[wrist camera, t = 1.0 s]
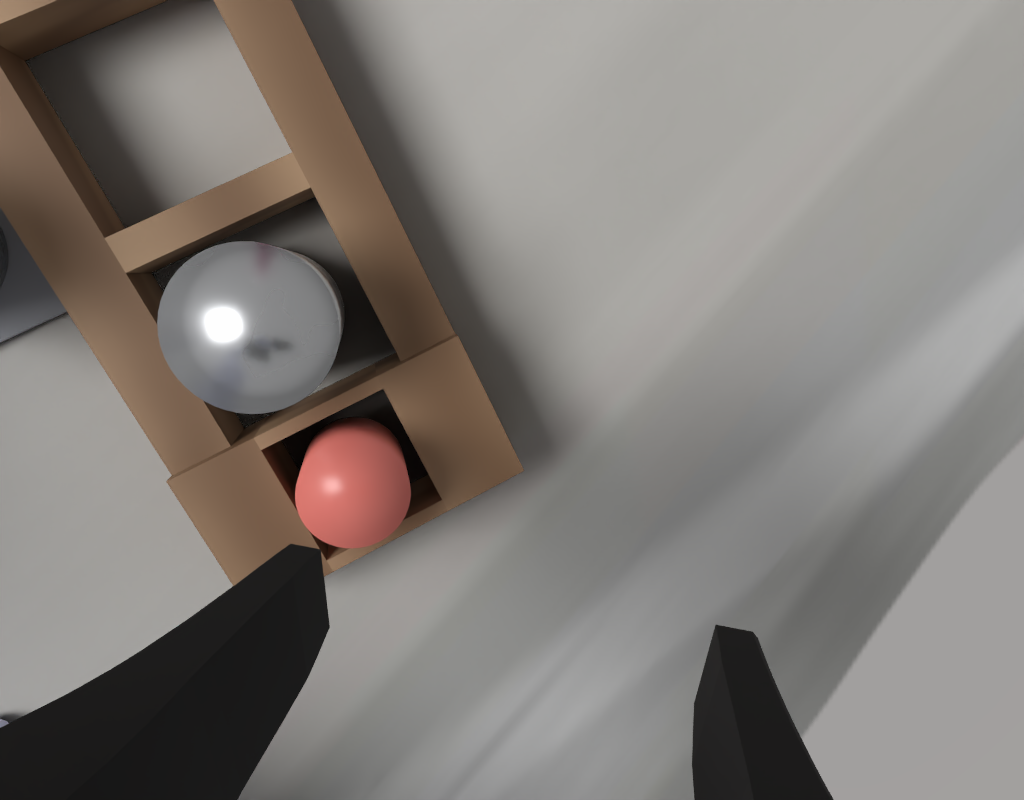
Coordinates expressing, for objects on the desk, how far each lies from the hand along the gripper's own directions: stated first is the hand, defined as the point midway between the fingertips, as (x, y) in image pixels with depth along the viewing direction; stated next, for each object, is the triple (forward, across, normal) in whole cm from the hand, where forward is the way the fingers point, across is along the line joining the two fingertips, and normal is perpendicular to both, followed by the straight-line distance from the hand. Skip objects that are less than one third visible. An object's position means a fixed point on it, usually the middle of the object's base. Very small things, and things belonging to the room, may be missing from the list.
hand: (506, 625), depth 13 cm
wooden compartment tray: (+10, +10, -2) cm, 14 cm away
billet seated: (+10, +10, -1) cm, 14 cm away
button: (+8, +6, +3) cm, 10 cm away
